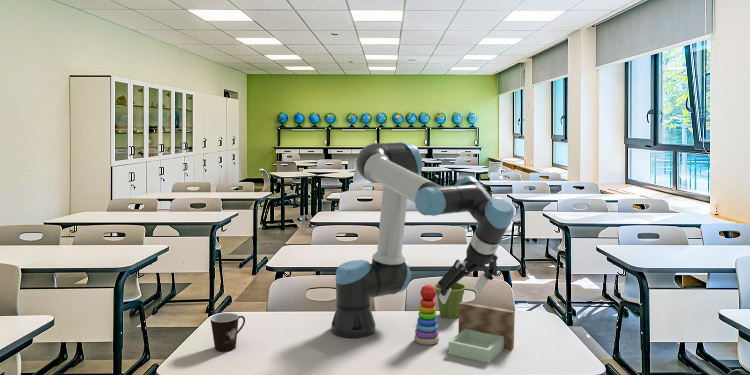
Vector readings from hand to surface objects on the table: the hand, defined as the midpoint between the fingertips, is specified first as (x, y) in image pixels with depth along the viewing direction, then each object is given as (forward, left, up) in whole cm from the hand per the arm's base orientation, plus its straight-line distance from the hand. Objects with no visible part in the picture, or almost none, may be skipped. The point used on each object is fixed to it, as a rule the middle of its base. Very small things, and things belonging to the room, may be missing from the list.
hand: (460, 295), depth 172 cm
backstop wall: (+3, +13, -19) cm, 23 cm away
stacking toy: (-14, +5, -19) cm, 24 cm away
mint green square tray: (+3, +5, -19) cm, 20 cm away
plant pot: (-18, +32, -19) cm, 41 cm away
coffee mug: (-65, -32, -19) cm, 75 cm away
